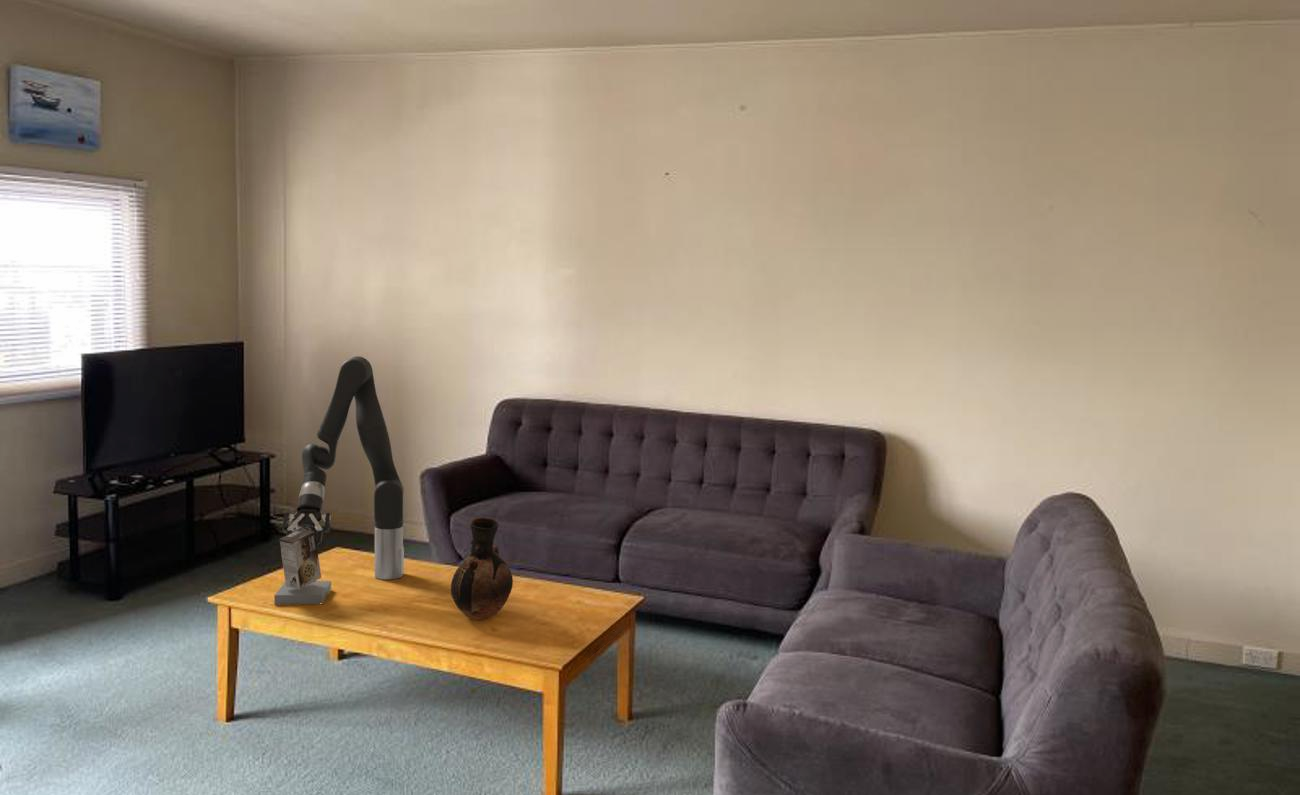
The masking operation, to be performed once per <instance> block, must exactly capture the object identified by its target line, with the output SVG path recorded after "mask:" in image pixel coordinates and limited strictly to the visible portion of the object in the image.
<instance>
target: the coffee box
mask: <svg viewBox="0 0 1300 795" xmlns="http://www.w3.org/2000/svg"><path fill="white" fill-rule="evenodd" d="M278 541H279V548H280V553H281V554H280V555H281V560H282V567H283V568H282V569H283V574H284V583H285V582H286V586H287V587H291V588H295V589H299V590H301V589H303V588H304V587H306V586H308V585H309V584H311V583H313V582H315V581H318V580H320V579H322V574H321V566H320V559H319V554H318V553H319V552H318V551H319V550H318V545H317V544H316V533H315V531H313V530H309V529H306V528H302V527H300V528H299V529H298V530H296V531H294V532H292V533H290V534H288V535H287V534H286V535H284V536H283V537H280V538H279V539H278Z"/></svg>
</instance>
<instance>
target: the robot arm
mask: <svg viewBox="0 0 1300 795" xmlns="http://www.w3.org/2000/svg"><path fill="white" fill-rule="evenodd" d="M353 399H354V401H355V423H356V429H357V433H358V437H359V440H360V441H359V442H360V443H361V447H362V449H363V451H364V454H365V456H366V458H367V460H368V462H369V464H370V466H371V469H372V476H373V479H374V486H375V489H374V494H373V496H374V497H373V500H374V502H373V506H374V508H373V512H374V514H373V515H374V578H376V579H378V580H397V579H402V578H403V576H404V573H405V567H404V566H405V563H404V561H405V554H404V553H405V547H404V506H403V505H404V487H403V484H402V481H401V478H400V477H399V474H398V471H397V468H396V466H395V463H394V459H393V452H392V446H391V441H390V436H389V432H388V428H387V425H386V421H385V418H384V415H383V411H382V408H381V404H380V402H379V399H378V395H377V390H376V386H375V378H374V370H373V367H372V365H371V363H370V362H369V360H368V359H367V358H365V357H363V356H353V357H351V358H348V359H346V360H345V361H344V362H343V363H342V364H340V367H339V372H338V376H337V381H336V384H335V388H334V392H333V395H332V398H331V400H330V402H329V405H328V407H327V410H326V412H325V414H324V416H323V419H322V421H321V423H320V425H319V428H318V431H317V432H316V436H317V438H318V439H319V440H320V441H322V442H323V443H325V444H327V445H328V446H327V447H324V446H321V445H317V444H315V443H310V444H307V445H306V446H304V447H303V450H302V453H301V461H302V467H303V477H302V478H303V480H302V484H301V488H300V491H299V497H298V501H297V506H296V512H295V513H294V514H293V513H289V512H285V513H284V516H283V521H282V525H281V529H282V532H283V533H284V534H285V533H286V535H288V534H290V533H292V532H294V531H296V530H298V529H300V528H302V529H306V528H309V529H313V527H314V528H315V530H316V535H315V538H316V544H317V546H318V545H320V544H321V543H322V540H323V535H324V534H328V533H330V532H331V522H332V517H331V514H330V512H326V513H325V514H322V513H323V512H322V510H323V505H324V500H325V489H326V481H327V473H326V472H325V470H329V469H331V468H332V467H333V466H334V464H335V461H336V455H337V447H338V442H339V439H340V437H341V434H342V432H343V430H344V427H345V425H346V422H347V418H348V415H349V412H350V411H349V410H350V407H351V405H352V402H353ZM293 519H294V521H293V522H292V520H293ZM322 519H323V522H324V527H322V525H320V523H319V522H321V521H322ZM290 522H292V523H291V524H290ZM289 525H290V526H289Z"/></svg>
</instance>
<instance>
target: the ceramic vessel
mask: <svg viewBox="0 0 1300 795" xmlns="http://www.w3.org/2000/svg"><path fill="white" fill-rule="evenodd" d="M469 524H470V531H471V536H472V540H471V542H470V544H471V547H470V548H471V549H470V555H469V556H468V557H466V558H465V559H464V560H463V561H462V562H461V564H460V565H459V566H458V567H457V569H456V570H455V572H454V574H453V577H452V579H451V583H450V593H451V597H452V600H453V602H454V604H455V606H456V607H457V608H458V610H459V611H460V612H461V613H462V614H463V615H465V617H467V618H468V619H471V620H474V621H475V620H482V619H486V618H491V617H493V616H495V615H497V614H498V613H499V612H500V611H501V609H502V608H503V607H504V606H505V604H506V603H507V601H508V599H509V598H510V595H511V592H512V590H513V585H514V581H513V580H514V578H513V574H512V571H511V569H510V567H509V565H508V563H507V562H506V561H505V559H503V558H502V557H501V556H500V554H499V547H498V546H497V545H494V540H495V537H496V534H497V531H498V529H499V523H498V522H497V521H496V520H495V519H493V518H489V517H477V518H475V517H474V518H473V519H472V520H470V523H469Z"/></svg>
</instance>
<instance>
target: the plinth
mask: <svg viewBox="0 0 1300 795" xmlns="http://www.w3.org/2000/svg"><path fill="white" fill-rule="evenodd" d="M330 590H331V591H332V581H331V580H329V581H328V580H319V581H318V580H316V581H315V582H313V583H311V584H309V585H308V586H306V587H304V588H303V589H301V590H299V589H295V588H291V587H287V586H286V582H285V581H284V582H283V584H282V585H281V586H280V588H278V590H277V592H276V593H274V595H273V596H274V597H273V598H274V605H275V604H315V605H321V604H320V603H322V602H323V601H324V599H325V598H326V599H327V597H328V596H329V594H330V593H331V591H330ZM329 592H330V593H329ZM328 593H329V594H328ZM327 595H328V596H327ZM326 596H327V597H326ZM326 599H325V600H326ZM324 602H325V601H324ZM324 602H323V603H324Z"/></svg>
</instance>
